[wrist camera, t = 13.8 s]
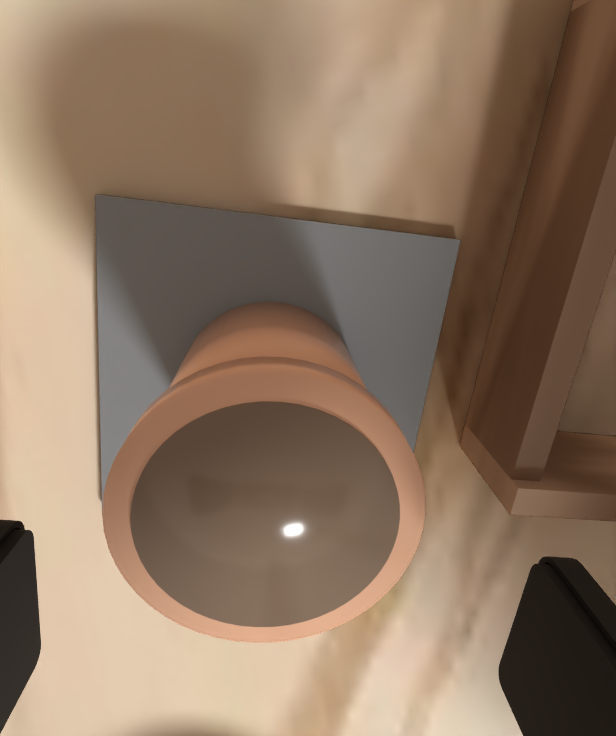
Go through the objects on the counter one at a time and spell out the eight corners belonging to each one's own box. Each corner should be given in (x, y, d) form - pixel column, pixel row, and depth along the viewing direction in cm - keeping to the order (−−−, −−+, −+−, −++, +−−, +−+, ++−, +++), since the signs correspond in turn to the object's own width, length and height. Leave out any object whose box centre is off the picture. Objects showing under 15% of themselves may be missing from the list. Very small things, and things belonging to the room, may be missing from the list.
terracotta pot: (378, 304, 17) (458, 390, 10) (348, 475, 20) (395, 650, 12) (175, 282, 16) (96, 358, 9) (169, 463, 19) (103, 642, 11)
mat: (456, 238, 17) (460, 240, 17) (394, 524, 21) (396, 530, 21) (99, 194, 16) (95, 194, 15) (105, 507, 20) (102, 513, 19)
